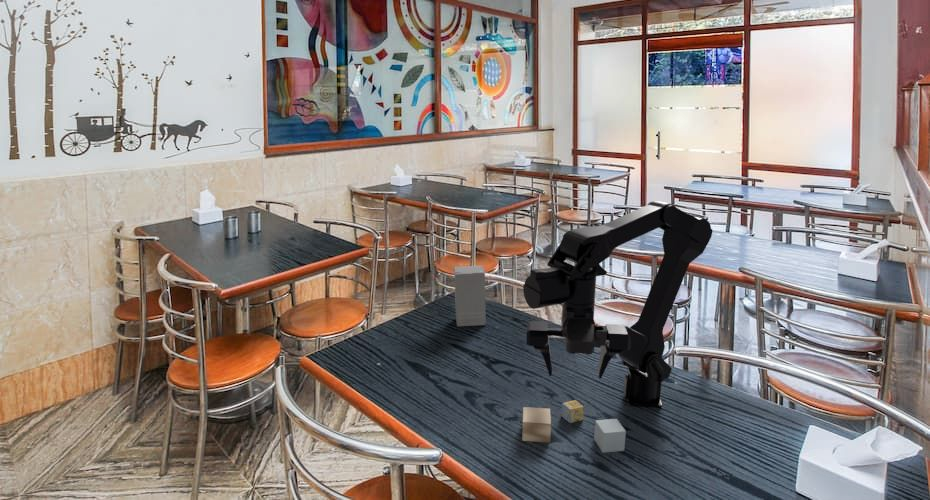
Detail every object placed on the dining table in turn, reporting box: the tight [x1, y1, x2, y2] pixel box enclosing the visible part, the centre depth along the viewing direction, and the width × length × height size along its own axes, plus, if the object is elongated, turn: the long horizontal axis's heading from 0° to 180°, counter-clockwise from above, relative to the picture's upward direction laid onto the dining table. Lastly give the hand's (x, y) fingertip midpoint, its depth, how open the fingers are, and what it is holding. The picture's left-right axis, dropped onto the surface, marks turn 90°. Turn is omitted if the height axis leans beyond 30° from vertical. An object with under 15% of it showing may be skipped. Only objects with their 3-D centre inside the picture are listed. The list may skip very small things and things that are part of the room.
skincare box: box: [453, 265, 487, 327], centre depth 151 cm, size 8×7×16 cm
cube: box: [593, 418, 627, 454], centre depth 98 cm, size 4×4×4 cm
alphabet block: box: [561, 399, 585, 424], centre depth 107 cm, size 3×3×3 cm
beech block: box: [521, 406, 552, 443], centre depth 102 cm, size 5×5×4 cm
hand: (574, 376), depth 105 cm, fingers open, 9 cm apart
